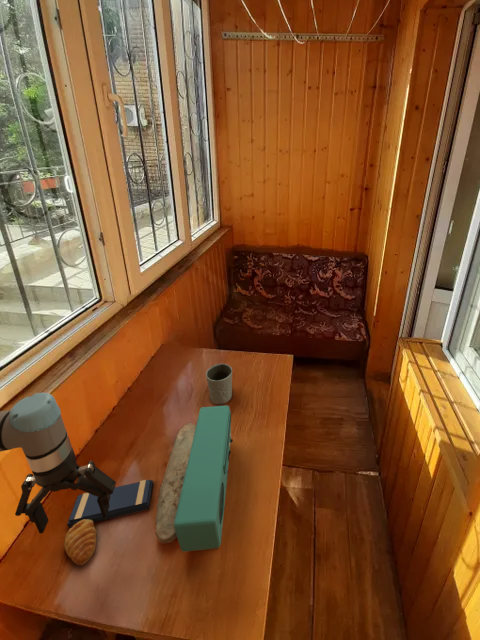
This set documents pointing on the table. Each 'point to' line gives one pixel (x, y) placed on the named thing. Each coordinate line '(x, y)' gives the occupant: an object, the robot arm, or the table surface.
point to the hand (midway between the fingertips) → (75, 519)
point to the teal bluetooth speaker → (205, 482)
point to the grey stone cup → (220, 383)
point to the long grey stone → (173, 484)
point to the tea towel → (113, 503)
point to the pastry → (81, 541)
